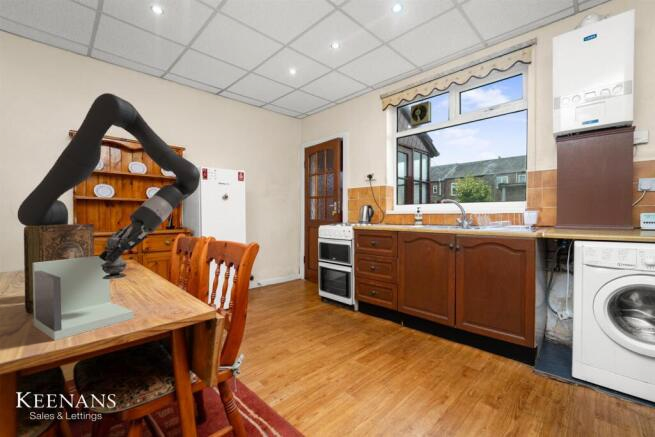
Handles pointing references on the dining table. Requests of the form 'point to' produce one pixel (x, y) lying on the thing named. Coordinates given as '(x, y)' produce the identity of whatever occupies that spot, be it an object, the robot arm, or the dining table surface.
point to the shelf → (73, 297)
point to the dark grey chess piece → (118, 264)
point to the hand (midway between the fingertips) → (105, 259)
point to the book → (54, 249)
